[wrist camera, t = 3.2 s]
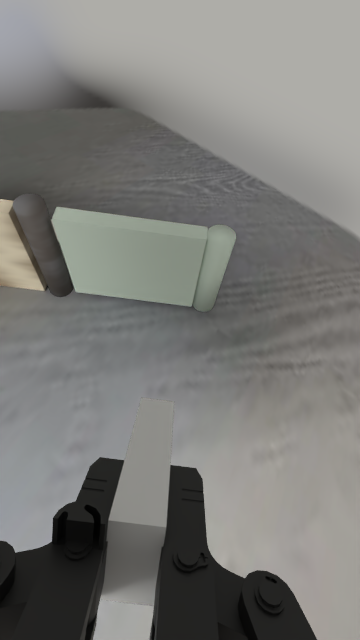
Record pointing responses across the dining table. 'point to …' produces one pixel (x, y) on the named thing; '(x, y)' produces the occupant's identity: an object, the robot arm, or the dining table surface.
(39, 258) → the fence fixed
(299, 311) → the dining table surface
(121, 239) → the panel
